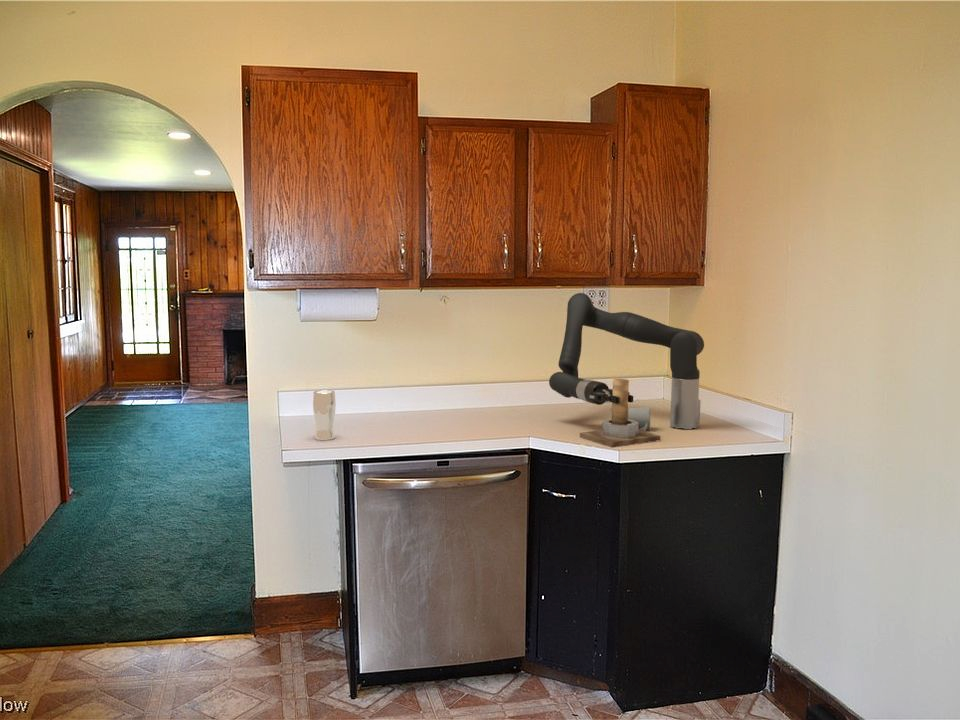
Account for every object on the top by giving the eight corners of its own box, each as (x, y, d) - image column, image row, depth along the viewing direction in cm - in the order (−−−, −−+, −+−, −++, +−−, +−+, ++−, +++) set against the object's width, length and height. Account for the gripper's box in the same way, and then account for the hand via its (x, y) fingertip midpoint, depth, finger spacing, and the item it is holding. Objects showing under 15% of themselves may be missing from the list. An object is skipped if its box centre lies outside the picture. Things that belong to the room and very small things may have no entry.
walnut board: (627, 431, 267) (627, 426, 267) (660, 440, 253) (660, 435, 253) (579, 437, 257) (579, 432, 257) (611, 447, 243) (611, 442, 243)
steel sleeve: (621, 429, 262) (622, 417, 262) (644, 435, 253) (645, 423, 252) (595, 432, 257) (595, 420, 256) (617, 439, 247) (618, 426, 247)
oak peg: (620, 423, 258) (621, 378, 256) (630, 426, 254) (632, 380, 252) (608, 425, 255) (609, 379, 254) (618, 428, 251) (620, 381, 249)
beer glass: (315, 436, 256) (314, 390, 254) (337, 435, 256) (336, 390, 254) (312, 440, 249) (311, 393, 247) (334, 440, 249) (334, 393, 248)
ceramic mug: (626, 426, 275) (626, 404, 274) (650, 427, 273) (650, 405, 272) (625, 433, 265) (626, 410, 264) (650, 434, 263) (651, 411, 262)
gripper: (575, 382, 262) (608, 389, 247) (609, 379, 269) (643, 386, 254) (574, 404, 263) (607, 413, 248) (608, 401, 270) (642, 409, 255)
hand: (625, 399), depth 251 cm, fingers closed on oak peg, 5 cm apart
